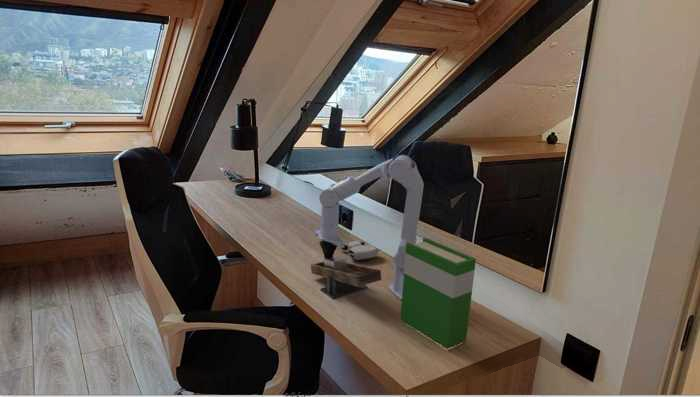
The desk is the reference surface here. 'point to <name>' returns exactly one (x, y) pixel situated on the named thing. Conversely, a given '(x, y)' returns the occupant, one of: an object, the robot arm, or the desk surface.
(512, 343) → the desk surface
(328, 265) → the block
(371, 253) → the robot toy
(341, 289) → the pivot stand
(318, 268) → the wooden rimmed tray
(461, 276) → the hardback book
